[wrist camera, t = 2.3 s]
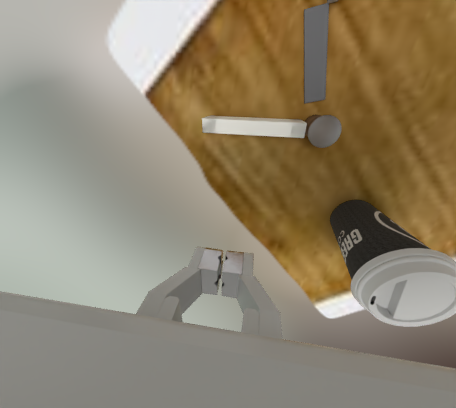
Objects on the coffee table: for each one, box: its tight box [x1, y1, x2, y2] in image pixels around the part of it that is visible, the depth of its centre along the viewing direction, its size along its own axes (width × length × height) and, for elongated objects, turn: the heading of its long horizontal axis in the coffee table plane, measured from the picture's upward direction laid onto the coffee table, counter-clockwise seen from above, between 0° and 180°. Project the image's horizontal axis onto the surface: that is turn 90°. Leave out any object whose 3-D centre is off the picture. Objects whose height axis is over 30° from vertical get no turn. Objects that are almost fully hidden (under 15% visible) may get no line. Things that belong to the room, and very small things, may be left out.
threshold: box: [304, 3, 329, 103], centre depth 23 cm, size 2×9×1 cm, turn 10°
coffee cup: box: [330, 200, 456, 327], centre depth 25 cm, size 10×10×15 cm
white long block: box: [202, 116, 307, 138], centre depth 25 cm, size 12×2×4 cm, turn 88°
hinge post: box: [305, 115, 341, 148], centre depth 24 cm, size 3×3×5 cm
